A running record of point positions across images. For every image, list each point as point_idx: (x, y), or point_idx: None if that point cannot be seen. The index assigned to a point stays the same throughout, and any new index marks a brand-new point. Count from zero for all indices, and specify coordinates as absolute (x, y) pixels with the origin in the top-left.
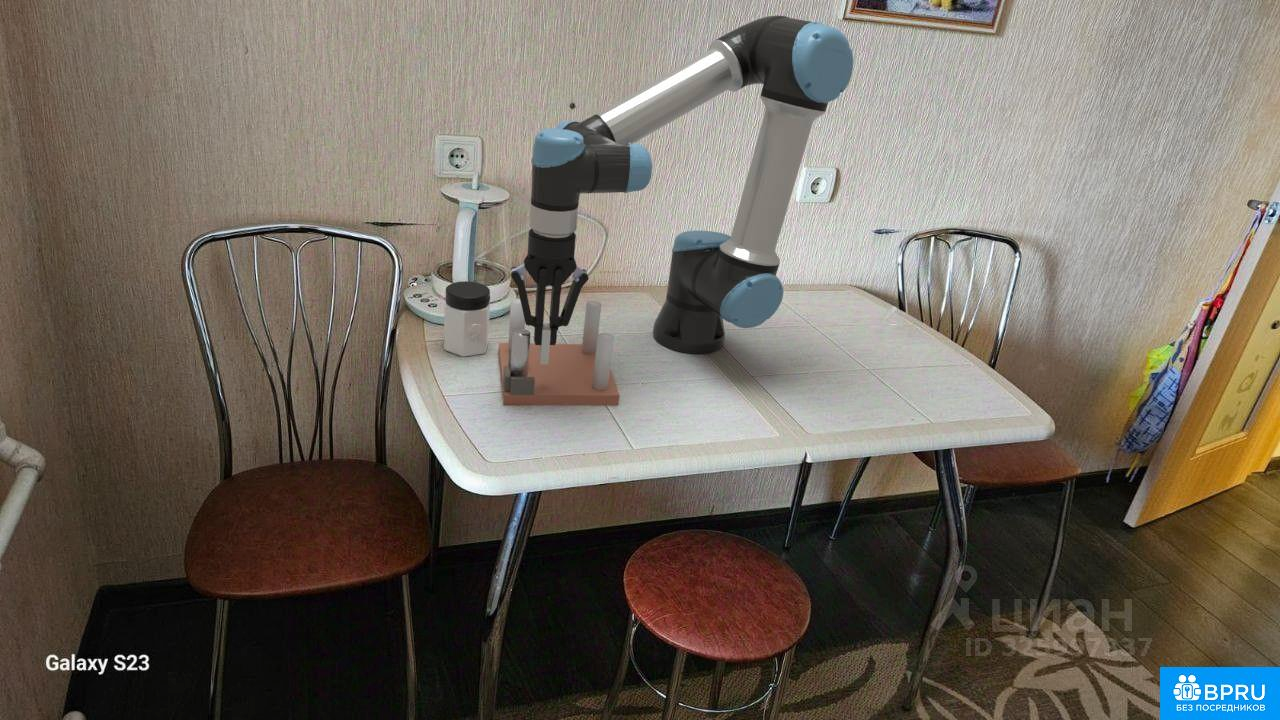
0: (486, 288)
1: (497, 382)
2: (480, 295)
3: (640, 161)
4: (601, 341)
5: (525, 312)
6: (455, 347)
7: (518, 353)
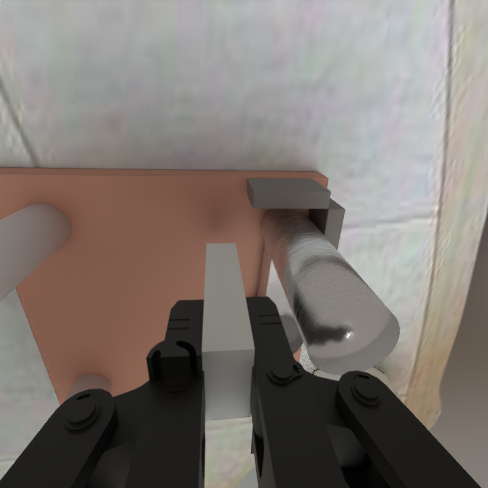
0: None
1: None
2: None
3: None
4: None
5: (456, 484)
6: (377, 375)
7: (336, 255)
